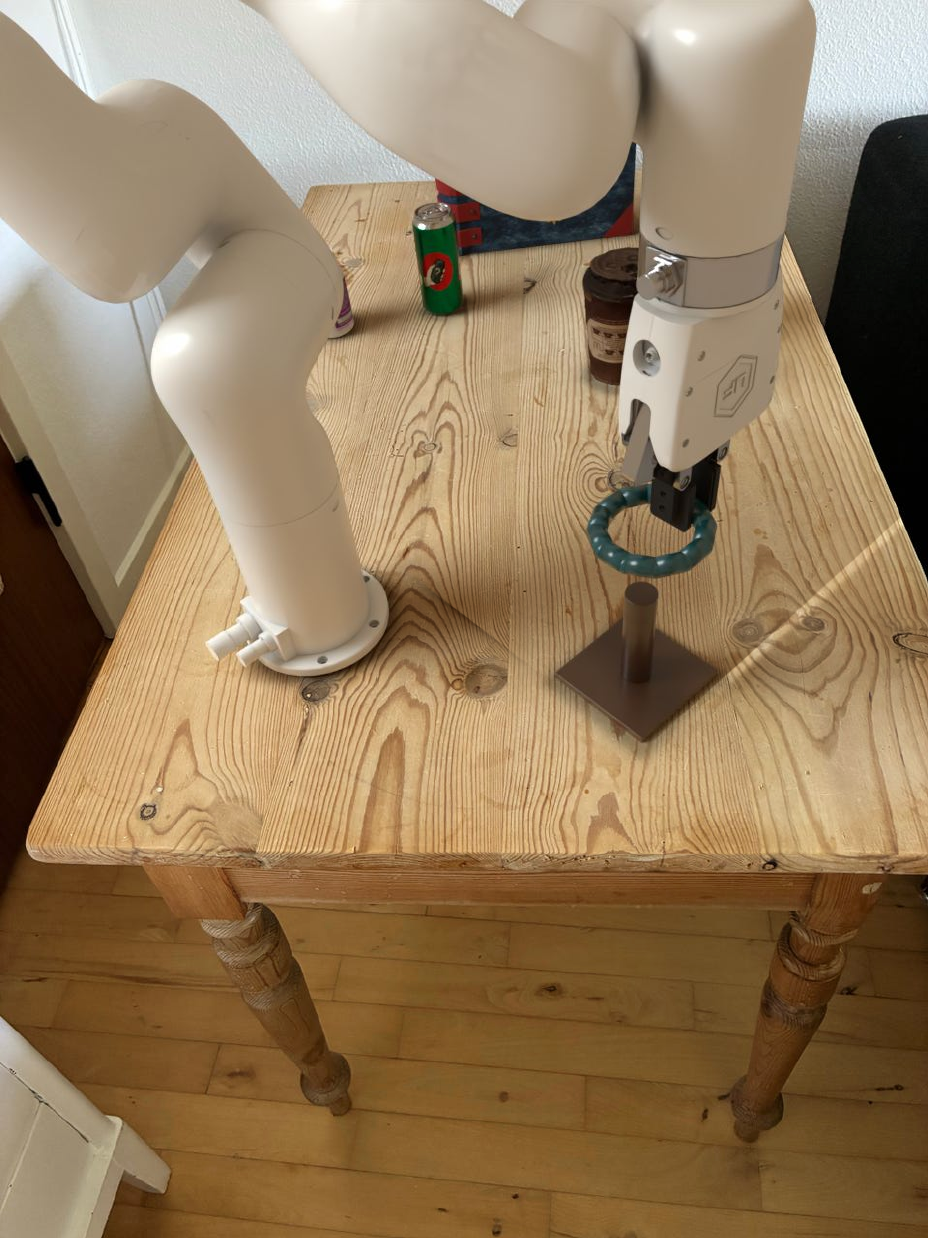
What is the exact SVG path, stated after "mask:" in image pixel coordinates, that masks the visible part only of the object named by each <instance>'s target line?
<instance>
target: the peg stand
mask: <svg viewBox="0 0 928 1238" xmlns="http://www.w3.org/2000/svg"><path fill="white" fill-rule="evenodd" d="M659 595H660V594H659V589H658V588H657V587H656V586H655V585H654V584H652V583H650V582H648V581H635V582H632V583H630V584H629V585H628V586H626V588H625V590H624V598H623V615H622V616H623V617H622V618H621V619H619V620H618V621H617V622H616V623H614V624H613V625H612V626H611V627H610V628H608V629H607V630H606V631H604V632H603V633H602V634H600V635H599V636H598V637H597V638H596V639H595V640H594V641H592V642H591V643H590V644H589V645H587V646H586V647H585V648H584V649H582V650H581V651H580V652H579V653H578V654H576V655H575V656H574V657H572V658H571V659H570V660H569V661H568V662H566V663H565V664H564V665H563V666H562V667H560V668H559V669H558V670H557V671H555V672H554V678H555V679H556V680H558V681H559V682H560V683H562V684H563V685H564V686H565V687H566V688H568V689H569V690H571V691H572V692H574V693H575V694H576V695H578V697H580V698H582V699H583V700H584V701H586V702H587V703H588V704H589V705H591V706H592V707H593V708H595V710H598V711H599V712H600V713H601V714H602V715H604V716H605V717H607V718H608V719H609V720H611V721H612V722H613V723H615V724H616V725H617V726H619V727H620V728H621V729H623V730H624V731H625V732H627V734H629V735H630V736H632V737H633V738H635V739H636V740H637V741H638V742H640V743H643V742H644V741H645V740H646V739H648V738H649V737H650V736H651V735H652V734H653V733H654V732H655V731H657V729H659V728H660V727H661V726H662V725H663V724H664V723H665V722H667V720H668V719H670V718H671V717H672V716H673V715H674V714H675V713H676V712H677V711H679V709H681V708H682V707H683V706H684V705H685V704H687V702H688V701H690V700H691V699H692V698H693V697H694V696H696V694H697V693H699V692H700V691H701V690H702V689H703V688H705V686H706V685H707V684H709V682H711V681H712V680H713V679H714V678H715V677H716V676H718V671H719V670H718V669H717V668H716V667H713V666H712V665H711V664H709V663H708V662H706V661H705V660H703V659H702V658H700V657H699V656H697V655H696V654H694V653H693V652H691V651H690V650H688V649H687V648H685V647H683V646H682V645H681V644H680V643H678V642H676V641H675V640H673V639H672V638H670V637H669V636H667V635H666V634H664V633H663V632H661V631H660V630H658V629H657V628H656V627H657V626H656V625H657V617H658V606H659V598H660V597H659Z"/></svg>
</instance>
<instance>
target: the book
mask: <svg viewBox="0 0 928 1238" xmlns="http://www.w3.org/2000/svg"><path fill="white" fill-rule="evenodd" d="M636 158H637V144H636V143H634V142H632V143H631V146H630V150H629V154H628V157H627V160H626V163H625V165H624V168H623V170H622V172H621V174H620V175H619V177H618V179H617V181H616V182H615V183H614V185H613V186H612V187H611V189H610V190H609V191H608V192H607V194H606V195H605V196H604V197H603V198H602V199H600V200H599V201H598V202H597V203H596V204H595V205H594V206H592V207H591V208H589V209H587V210H585V211H584V212H582V213H580V214H578V215H576V216H572V217H569V218H566V219H562V220H556V221H535V220H527V219H522V218H519V217H515V216H512V215H509V214H505V213H502V212H500V211H497V210H495V209H493V208H490V207H488V206H486V205H484V204H482V203H480V202H478V201H476V200H474V199H472V198H470V197H468V196H466V195H464V194H463V193H461V192H459V191H457V190H455V189H454V188H452V187H450V186H448V185H447V184H445V183H443V182H441V181H440V180H438V179H436V178H435V177H434V182H435V183H434V184H435V190H436V191H437V195H436V202H438V203H445V204H447V205H449V206H450V207H451V209H452V213H453V214H454V215H455V217H456V227H457V237H458V247H459V256H462V257H463V256H465V255H466V256H468V255H470V254H478V253H487V252H494V251H495V252H496V251H504V250H510V249H511V250H512V249H519V248H527V247H528V248H529V247H535V246H546V245H552V244H561V243H570V242H579V241H585V240H594V239H606V238H616V237H623V236H624V237H625V236H627V235H633V231H634V206H635V185H636V165H637V164H636V162H637V159H636Z"/></svg>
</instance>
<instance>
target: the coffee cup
mask: <svg viewBox="0 0 928 1238" xmlns="http://www.w3.org/2000/svg"><path fill="white" fill-rule="evenodd" d="M638 252H639V247H635V246H634V247H631V246H626V247H620V248H615V249H610V250H607V251H606V252H604V253H602V254H598V255H596V256H594V257H592V259H590V262H589V266H588V267H587V268H586V270H585V271H584V274H583V275H582V281H581V283H582V289H583V299H584V300H583V303H584V307H583V308H584V317H585V319H584V320H585V328H586V342H587V353H588V359H589V372H590V374H591V375H592V376H593V378H594V379H595V380H596V381H598V382H600V383H602V384H606V385H610V386H615V387H616V386H618V387H620V382H621V372H622V364H623V356H624V349H625V343H626V337H627V331H628V326H629V321H630V316H631V312H632V307H633V302H634V298H635V296H636V295H637V294H638V291H637V287H636V282H637V277H638Z"/></svg>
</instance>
